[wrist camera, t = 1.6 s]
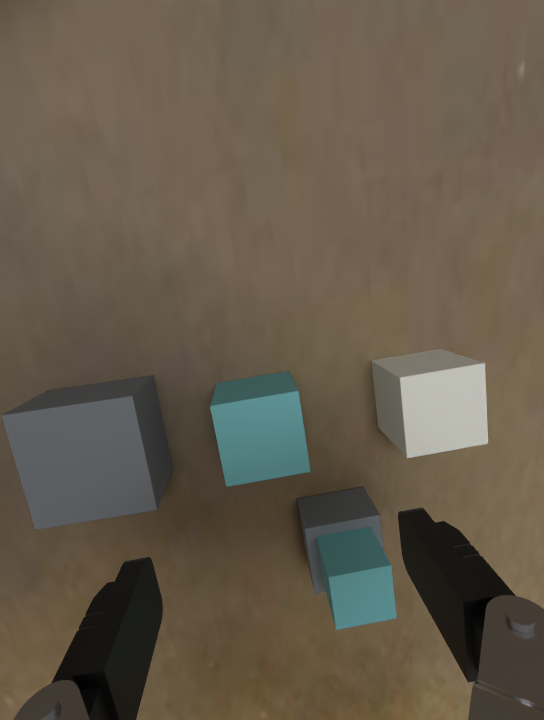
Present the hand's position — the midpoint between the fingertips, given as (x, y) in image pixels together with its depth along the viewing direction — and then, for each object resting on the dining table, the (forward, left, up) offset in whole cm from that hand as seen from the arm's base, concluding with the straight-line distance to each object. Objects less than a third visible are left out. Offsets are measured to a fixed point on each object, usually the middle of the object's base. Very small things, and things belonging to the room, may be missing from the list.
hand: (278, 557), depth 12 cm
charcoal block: (-9, -6, -15) cm, 18 cm away
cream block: (+9, +6, -15) cm, 18 cm away
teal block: (0, 0, -15) cm, 15 cm away
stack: (+9, -6, -15) cm, 18 cm away
